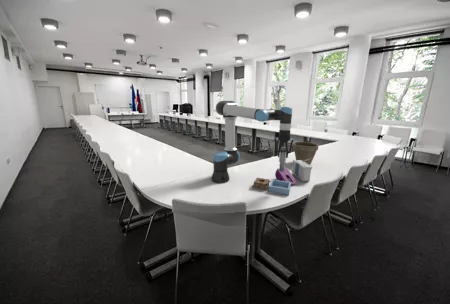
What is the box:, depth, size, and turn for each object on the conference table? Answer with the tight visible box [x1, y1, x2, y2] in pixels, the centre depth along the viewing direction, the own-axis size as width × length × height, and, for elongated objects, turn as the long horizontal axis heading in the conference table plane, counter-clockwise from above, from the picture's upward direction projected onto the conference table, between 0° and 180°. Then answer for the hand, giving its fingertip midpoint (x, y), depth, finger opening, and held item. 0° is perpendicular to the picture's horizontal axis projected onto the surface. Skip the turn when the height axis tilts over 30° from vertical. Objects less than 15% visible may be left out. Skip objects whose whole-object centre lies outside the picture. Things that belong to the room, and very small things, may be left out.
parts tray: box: [268, 179, 292, 196], centre depth 148 cm, size 14×14×4 cm
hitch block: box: [253, 177, 270, 191], centre depth 153 cm, size 10×10×5 cm
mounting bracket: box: [274, 167, 297, 186], centre depth 165 cm, size 9×8×18 cm
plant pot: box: [292, 141, 320, 166], centre depth 212 cm, size 25×25×22 cm
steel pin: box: [278, 146, 286, 172], centre depth 143 cm, size 5×5×18 cm
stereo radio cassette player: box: [291, 159, 313, 182], centre depth 172 cm, size 21×8×20 cm, turn 5°
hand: (282, 161), depth 143 cm, fingers closed on steel pin, 3 cm apart
